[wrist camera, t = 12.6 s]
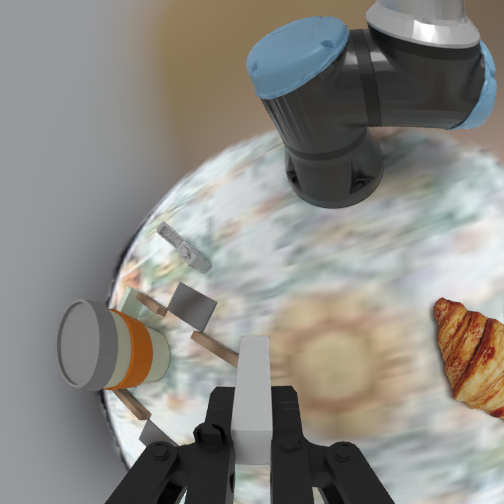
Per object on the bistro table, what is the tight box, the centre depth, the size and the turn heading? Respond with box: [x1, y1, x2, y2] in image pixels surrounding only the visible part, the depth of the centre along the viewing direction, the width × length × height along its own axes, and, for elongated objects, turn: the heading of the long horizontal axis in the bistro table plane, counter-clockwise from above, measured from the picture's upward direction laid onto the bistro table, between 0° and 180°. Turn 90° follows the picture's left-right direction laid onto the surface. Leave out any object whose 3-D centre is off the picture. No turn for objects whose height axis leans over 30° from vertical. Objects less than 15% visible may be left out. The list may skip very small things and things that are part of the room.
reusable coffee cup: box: [56, 299, 170, 391], centre depth 35 cm, size 13×13×15 cm
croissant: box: [434, 298, 504, 420], centre depth 20 cm, size 21×10×8 cm, turn 35°
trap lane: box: [112, 282, 239, 447], centre depth 38 cm, size 27×28×2 cm
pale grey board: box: [117, 286, 145, 319], centre depth 44 cm, size 1×18×4 cm, turn 152°
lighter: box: [157, 222, 212, 274], centre depth 42 cm, size 7×2×8 cm, turn 41°
